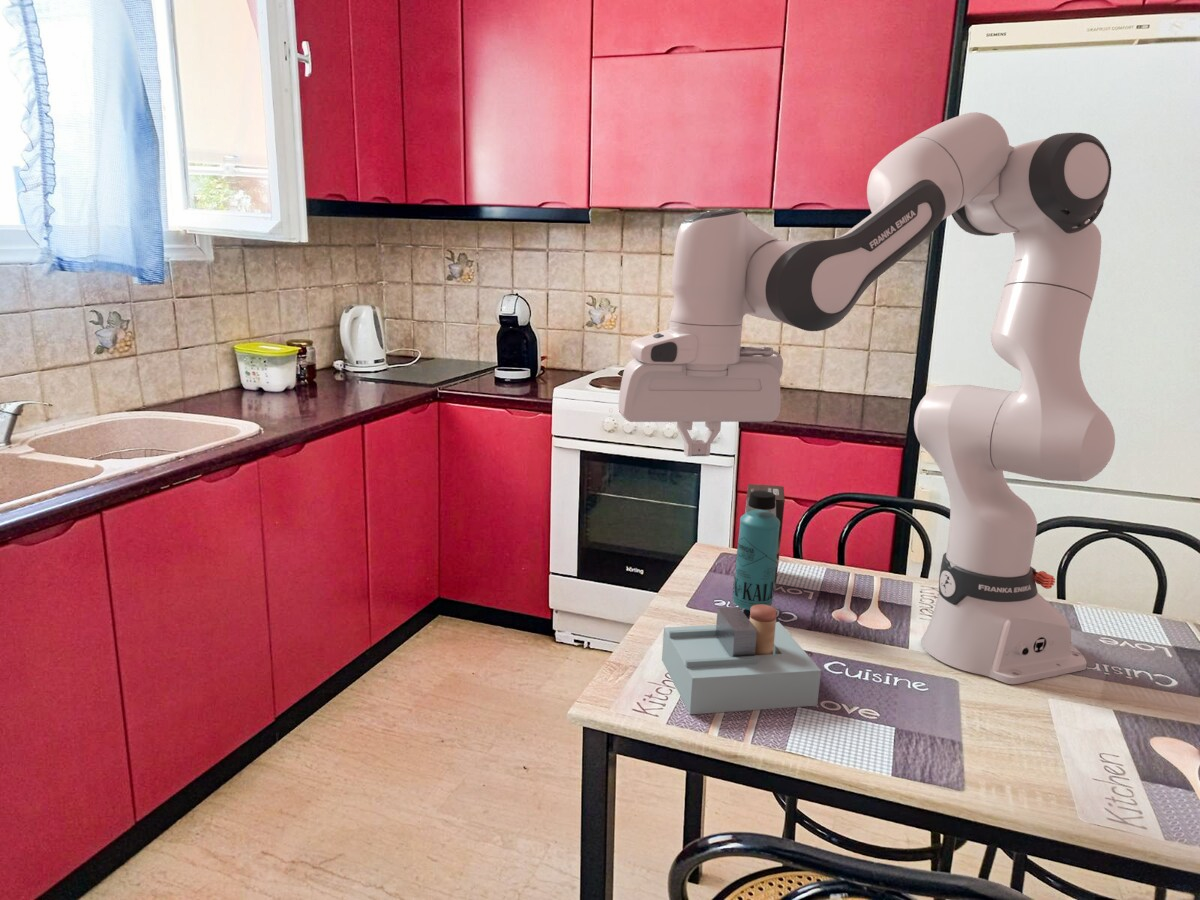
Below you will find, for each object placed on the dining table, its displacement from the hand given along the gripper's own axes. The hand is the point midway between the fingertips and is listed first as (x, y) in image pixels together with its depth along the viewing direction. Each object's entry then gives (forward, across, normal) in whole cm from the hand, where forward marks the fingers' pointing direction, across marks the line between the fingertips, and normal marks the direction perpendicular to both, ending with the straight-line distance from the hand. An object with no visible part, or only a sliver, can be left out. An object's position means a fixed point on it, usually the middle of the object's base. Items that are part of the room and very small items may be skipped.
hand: (696, 455), depth 107 cm
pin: (+31, -10, +2) cm, 32 cm away
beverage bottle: (+31, -17, -19) cm, 40 cm away
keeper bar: (+26, -6, +2) cm, 27 cm away
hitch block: (+31, -7, +2) cm, 32 cm away
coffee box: (+31, -23, -32) cm, 50 cm away
